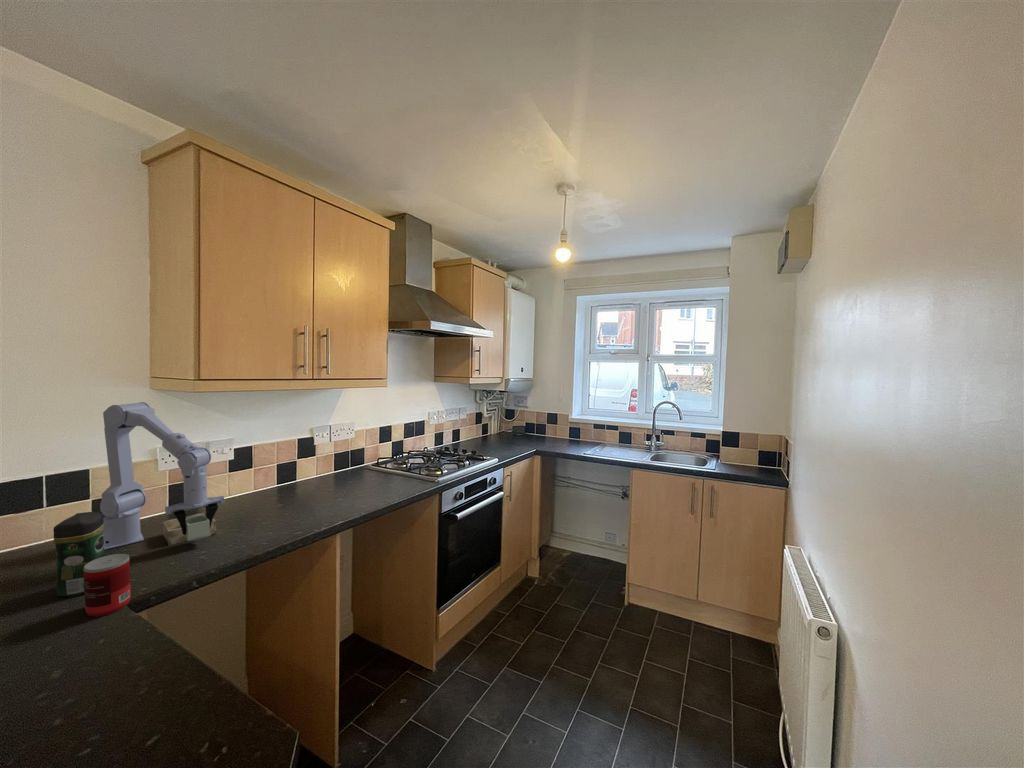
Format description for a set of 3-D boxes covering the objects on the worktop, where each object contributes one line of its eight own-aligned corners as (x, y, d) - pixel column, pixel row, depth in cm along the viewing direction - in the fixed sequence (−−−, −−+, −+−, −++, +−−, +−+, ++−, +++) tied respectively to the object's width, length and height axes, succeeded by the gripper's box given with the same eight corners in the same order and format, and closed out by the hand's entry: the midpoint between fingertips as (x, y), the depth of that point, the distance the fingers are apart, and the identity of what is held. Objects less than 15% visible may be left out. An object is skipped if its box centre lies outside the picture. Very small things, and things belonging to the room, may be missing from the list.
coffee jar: (71, 581, 107) (68, 511, 106) (111, 575, 110) (108, 507, 109) (49, 601, 98) (45, 525, 97) (93, 593, 101) (90, 520, 100)
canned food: (130, 593, 102) (128, 550, 101) (131, 607, 96) (130, 561, 95) (86, 606, 96) (83, 560, 96) (84, 622, 91) (82, 573, 90)
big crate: (169, 545, 128) (168, 531, 127) (163, 534, 135) (162, 521, 135) (216, 533, 137) (216, 520, 136) (208, 524, 144) (208, 511, 144)
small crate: (188, 541, 124) (187, 525, 124) (183, 534, 129) (183, 518, 128) (209, 536, 128) (209, 520, 128) (204, 529, 133) (204, 514, 132)
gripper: (167, 496, 119) (168, 542, 120) (226, 485, 130) (227, 527, 131) (163, 490, 124) (164, 534, 125) (220, 481, 135) (221, 521, 136)
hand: (196, 530), depth 128 cm, fingers closed on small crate, 5 cm apart
